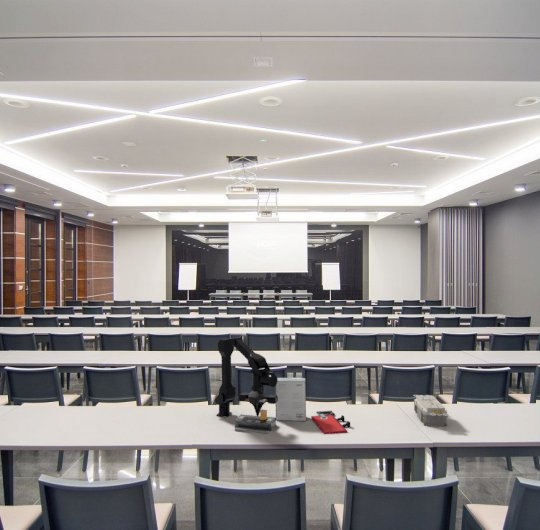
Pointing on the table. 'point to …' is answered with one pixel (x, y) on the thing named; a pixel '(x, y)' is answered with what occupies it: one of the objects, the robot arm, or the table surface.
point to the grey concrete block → (430, 410)
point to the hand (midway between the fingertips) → (257, 415)
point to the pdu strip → (255, 422)
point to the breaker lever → (263, 414)
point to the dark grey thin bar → (251, 430)
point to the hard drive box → (291, 399)
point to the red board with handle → (330, 422)
